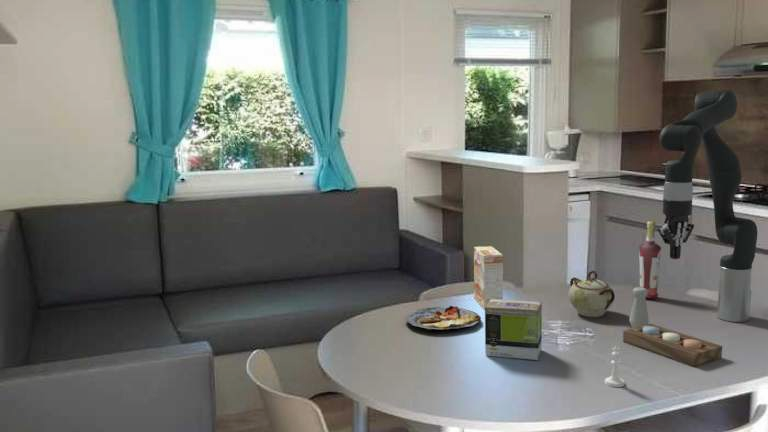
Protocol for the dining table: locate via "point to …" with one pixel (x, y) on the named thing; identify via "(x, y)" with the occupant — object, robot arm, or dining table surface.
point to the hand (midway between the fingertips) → (674, 258)
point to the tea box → (513, 328)
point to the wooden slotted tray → (673, 346)
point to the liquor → (649, 262)
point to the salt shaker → (639, 308)
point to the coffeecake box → (487, 275)
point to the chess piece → (615, 371)
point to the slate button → (651, 330)
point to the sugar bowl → (590, 296)
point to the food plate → (443, 318)
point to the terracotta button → (692, 344)
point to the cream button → (671, 337)
